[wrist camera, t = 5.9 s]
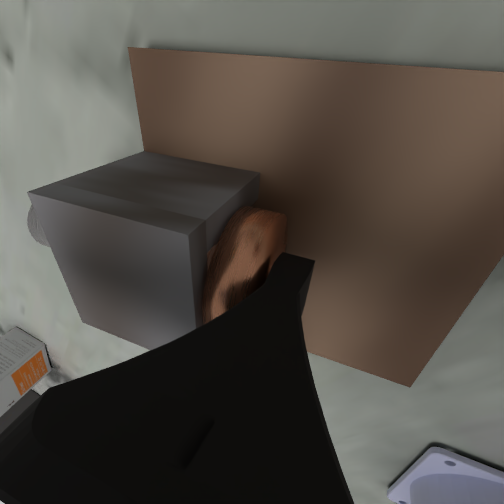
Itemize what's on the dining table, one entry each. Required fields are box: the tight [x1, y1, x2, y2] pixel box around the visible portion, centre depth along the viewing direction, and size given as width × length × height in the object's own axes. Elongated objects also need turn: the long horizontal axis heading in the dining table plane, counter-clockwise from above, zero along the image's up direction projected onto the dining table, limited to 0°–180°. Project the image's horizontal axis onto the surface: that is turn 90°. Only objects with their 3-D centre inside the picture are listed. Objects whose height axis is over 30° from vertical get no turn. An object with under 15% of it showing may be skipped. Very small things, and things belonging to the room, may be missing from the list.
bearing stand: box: [27, 47, 504, 387], centre depth 10 cm, size 13×12×6 cm
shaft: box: [27, 205, 288, 324], centre depth 10 cm, size 9×4×4 cm, turn 87°
